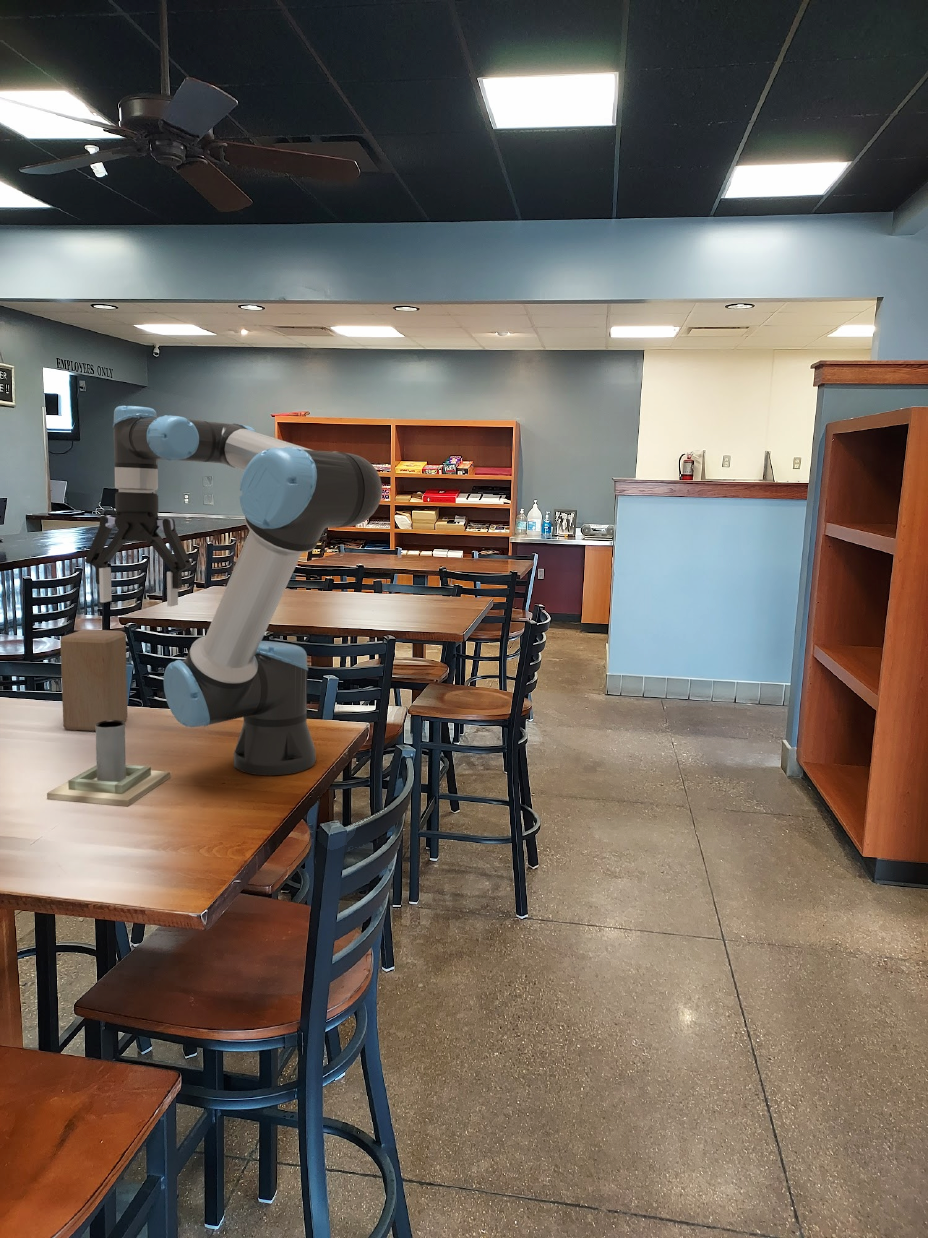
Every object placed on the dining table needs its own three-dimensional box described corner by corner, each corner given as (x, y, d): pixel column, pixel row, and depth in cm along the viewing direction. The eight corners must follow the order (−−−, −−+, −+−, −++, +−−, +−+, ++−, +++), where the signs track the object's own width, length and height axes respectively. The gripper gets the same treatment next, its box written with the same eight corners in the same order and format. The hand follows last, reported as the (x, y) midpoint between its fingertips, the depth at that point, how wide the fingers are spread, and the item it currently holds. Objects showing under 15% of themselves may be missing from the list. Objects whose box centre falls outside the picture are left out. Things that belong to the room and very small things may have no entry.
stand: (169, 777, 144) (169, 763, 144) (127, 806, 131) (127, 791, 130) (96, 770, 146) (96, 757, 146) (47, 799, 132) (46, 784, 132)
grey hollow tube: (131, 780, 139) (130, 722, 138) (110, 788, 135) (109, 728, 134) (112, 775, 141) (111, 718, 140) (91, 783, 137) (89, 724, 136)
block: (109, 733, 169) (106, 638, 166) (61, 731, 169) (58, 636, 166) (129, 719, 179) (127, 630, 176) (84, 718, 179) (81, 628, 176)
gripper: (208, 494, 154) (209, 604, 158) (86, 489, 158) (89, 597, 161) (190, 493, 147) (191, 609, 150) (62, 488, 150) (66, 602, 153)
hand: (139, 603), depth 155 cm, fingers open, 13 cm apart
